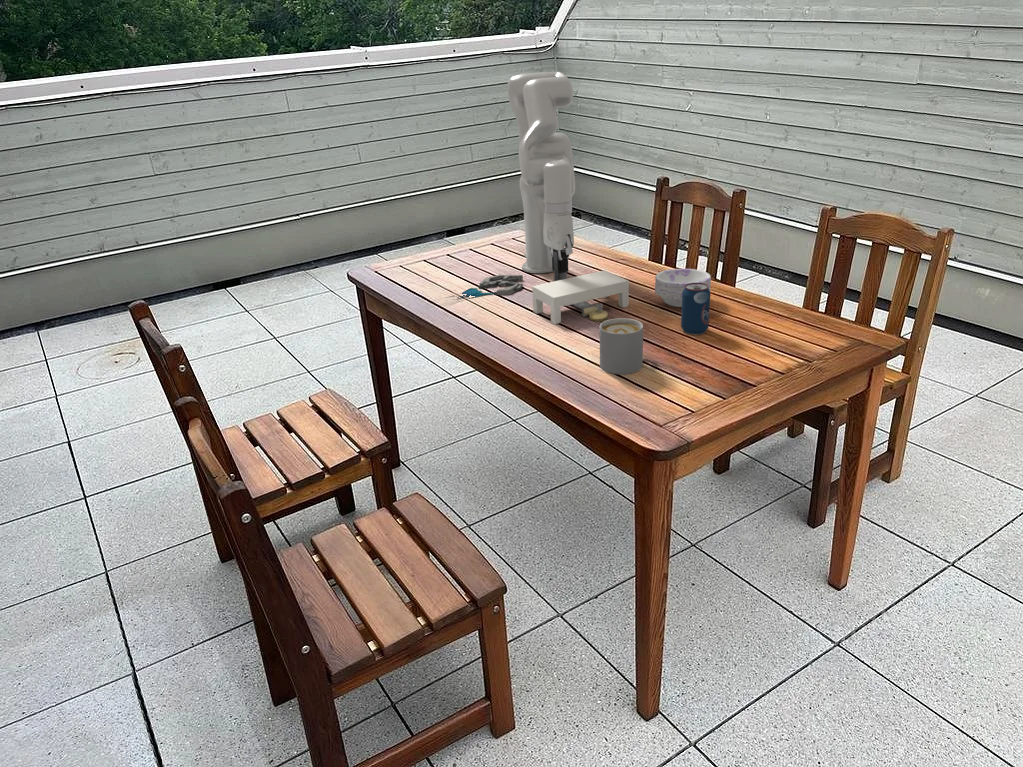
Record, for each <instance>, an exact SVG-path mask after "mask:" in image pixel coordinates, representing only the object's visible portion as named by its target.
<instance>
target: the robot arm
mask: <svg viewBox="0 0 1023 767" xmlns="http://www.w3.org/2000/svg"><path fill="white" fill-rule="evenodd" d="M506 88H507V97H508V102H509V105H510V107H511V109H512V112H513V114H514V116H515V119H516V122H517V128H518V130H517V131H518V140H519V146H518V147H519V148H518V162H519V168H520V169H519V170H520V174H521V176H520V178H519V190H520V195H521V200H522V201H521V202H522V206H523V221H524V223H523V224H524V239H525V240H524V242H525V253H524V254H523V256H524V257H525V259H526V260H525V262H524V263H522V265H521V269H522V271H524V272H526V273H530V274H531V273H532V274H546V273H547V274H548V273H552V272H553V273H554V263H553V251H556V250H557V251H558V255H559V260H557V262H558V273H559V274H560V273H565V272H567V273H568V272H569V259H570V256H571V255H573V253H574V252H573V248H574V245H575V236H574V234H575V233H574V232H575V231H574V223H573V216H572V213H573V206H572V204H573V201H572V199H573V198H572V197H573V196H574V194H575V193H576V178H575V177H576V176H575V167H574V159H573V148H572V143H571V139H570V138H569V136H568V135H567V134H565V133H563V132H557V130H558V129H559V121H558V115H557V111H556V108H558V109H559V108H567V107H569V106H571V104H572V103H573V99H574V90H573V86H572V82H571V81H570V78H568V77H567V75H565V74H564V73H563V72H561V71H543V72H541V71H540V72H529V73H528V72H527V73H520V74H517V75H513V76H512V77H510V78H509V80H508V81H507V85H506ZM562 251H565V252H563V253H562Z"/></svg>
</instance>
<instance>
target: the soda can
mask: <svg viewBox="0 0 1023 767" xmlns="http://www.w3.org/2000/svg"><path fill="white" fill-rule="evenodd" d="M710 307H711V290H710V291H709V289H708V285H707V284H704V283H689V284H686V285H685V288H684V290H683V292H682V307H681V316H680V317H681V318H680V327H681V329H682V332H684V333H685V334H688V335H694V336H697V335H698V336H699V335H703V334H705V333H706V332H707V331H708V329H709V325H710V309H711V308H710Z"/></svg>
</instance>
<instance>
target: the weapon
mask: <svg viewBox="0 0 1023 767" xmlns="http://www.w3.org/2000/svg"><path fill="white" fill-rule="evenodd" d="M523 279H524V278H523V274H498V275H492V276H489V277H486V278H483V280H482V281H480V282H479V285H478V287H470V288H468V289H466V290H465V291H463V292H461V293H462V294H467V295H466V296H465V295H463V296H465V297H469V296H470V295H471V296H475V298H479V297H482V296H486V295H493V294H494V295H497V296H503V295H511V294H513V293H515V292H517V291H520V290H522V288H523V286H524V283H521V282H522V281H524V280H523ZM497 286H499V287H505V288H499V289H497V290H496V291H494V292H483V291H482V289H488V288H494V287H497ZM506 286H507V287H506ZM463 296H462V298H464V297H463ZM472 299H474V297H473V298H472ZM459 300H461V298H459ZM468 300H470V298H468Z"/></svg>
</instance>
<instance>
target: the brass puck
mask: <svg viewBox="0 0 1023 767" xmlns="http://www.w3.org/2000/svg"><path fill="white" fill-rule="evenodd" d="M588 319H589V320H590V321H591V322H598V323H600V322H601V323H602V322H604V321H607V320H609V314H608V311H606V310H595V311H591V312H590V313H589V316H588Z"/></svg>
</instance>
